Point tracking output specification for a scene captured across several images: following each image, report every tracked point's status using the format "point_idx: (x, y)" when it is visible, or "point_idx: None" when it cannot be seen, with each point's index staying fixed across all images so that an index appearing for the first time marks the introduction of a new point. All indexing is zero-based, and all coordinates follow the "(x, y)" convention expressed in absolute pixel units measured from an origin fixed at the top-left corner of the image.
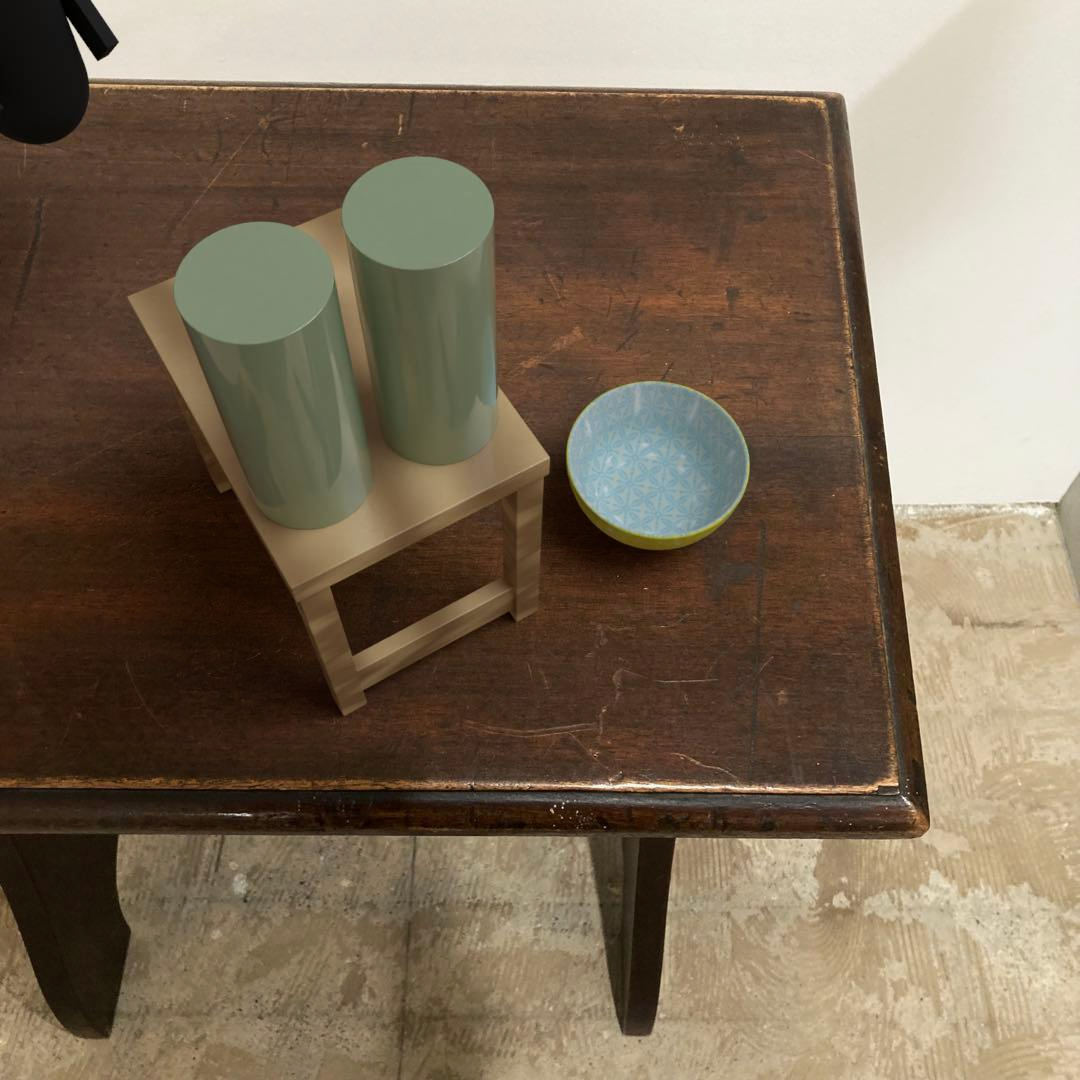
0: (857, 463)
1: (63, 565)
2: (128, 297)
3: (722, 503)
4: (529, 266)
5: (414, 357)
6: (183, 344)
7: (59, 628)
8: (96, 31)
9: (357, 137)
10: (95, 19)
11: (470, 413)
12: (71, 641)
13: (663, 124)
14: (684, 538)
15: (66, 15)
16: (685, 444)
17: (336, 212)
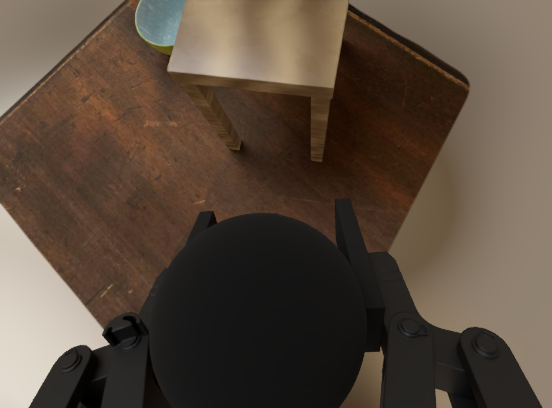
0: (120, 13)
1: (403, 164)
2: (333, 86)
3: (170, 1)
4: (132, 167)
5: None
6: (325, 35)
7: (420, 137)
8: (208, 221)
9: (129, 299)
10: (199, 228)
11: None
12: (418, 129)
13: (20, 196)
14: None
15: None
16: (159, 38)
17: (186, 70)
